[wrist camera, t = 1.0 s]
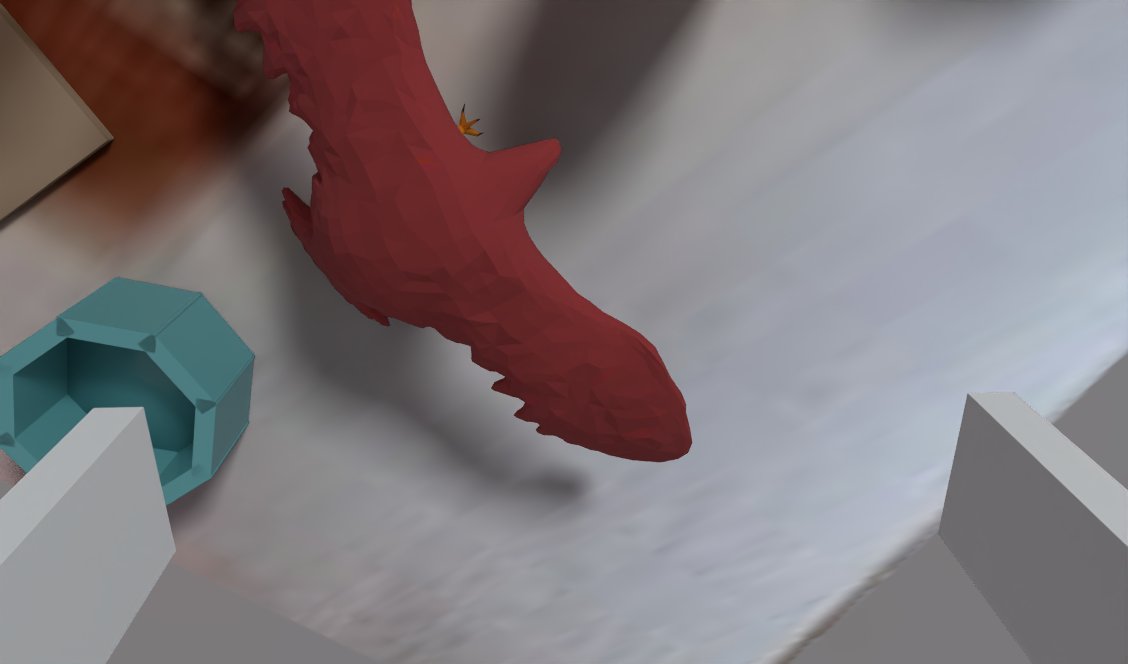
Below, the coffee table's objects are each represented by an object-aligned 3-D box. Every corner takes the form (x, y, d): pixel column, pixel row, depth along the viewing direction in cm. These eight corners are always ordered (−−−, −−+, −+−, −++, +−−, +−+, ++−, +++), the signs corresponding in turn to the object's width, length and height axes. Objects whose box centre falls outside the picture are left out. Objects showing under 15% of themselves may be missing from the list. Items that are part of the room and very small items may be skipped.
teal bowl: (15, 347, 39) (-56, 395, 34) (161, 245, 37) (107, 281, 32) (151, 485, 41) (102, 547, 37) (291, 396, 40) (259, 449, 35)
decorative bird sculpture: (570, 404, 45) (797, 407, 33) (456, 530, 41) (671, 586, 29) (227, -92, 36) (372, -337, 24) (28, -3, 31) (83, -250, 19)
